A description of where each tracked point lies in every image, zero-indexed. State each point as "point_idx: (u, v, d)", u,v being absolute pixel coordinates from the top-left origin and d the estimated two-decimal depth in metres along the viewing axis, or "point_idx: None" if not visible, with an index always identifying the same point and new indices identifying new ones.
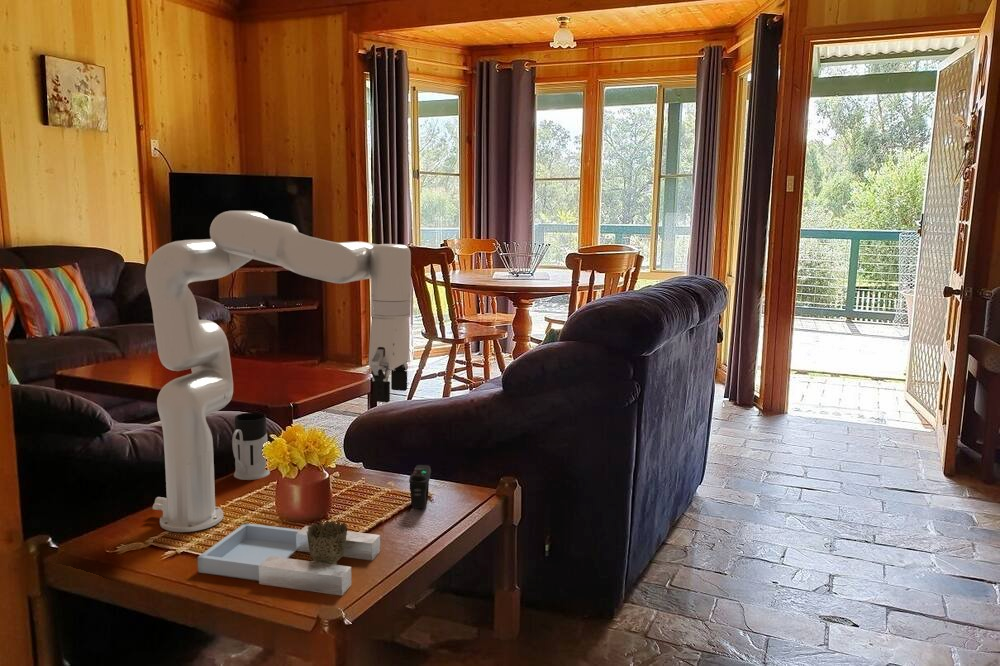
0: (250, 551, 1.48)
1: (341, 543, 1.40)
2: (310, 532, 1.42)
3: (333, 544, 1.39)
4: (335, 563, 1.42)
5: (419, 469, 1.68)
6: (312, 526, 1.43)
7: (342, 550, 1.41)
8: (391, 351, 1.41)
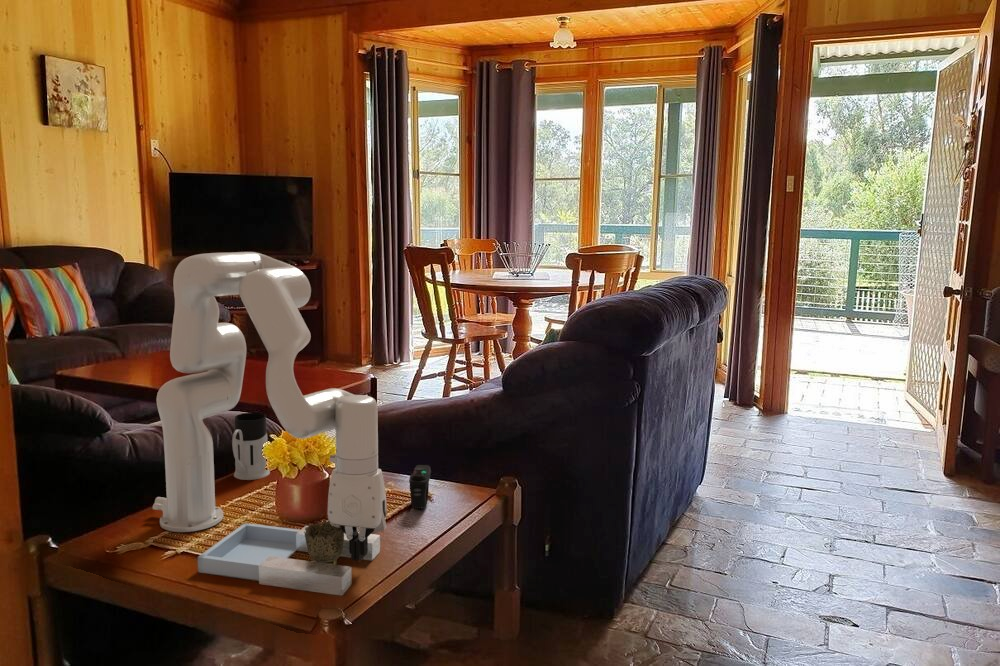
0: (250, 551, 1.48)
1: (339, 541, 1.40)
2: (308, 532, 1.42)
3: (330, 543, 1.39)
4: (335, 562, 1.42)
5: (419, 469, 1.68)
6: (309, 526, 1.43)
7: (340, 548, 1.41)
8: None
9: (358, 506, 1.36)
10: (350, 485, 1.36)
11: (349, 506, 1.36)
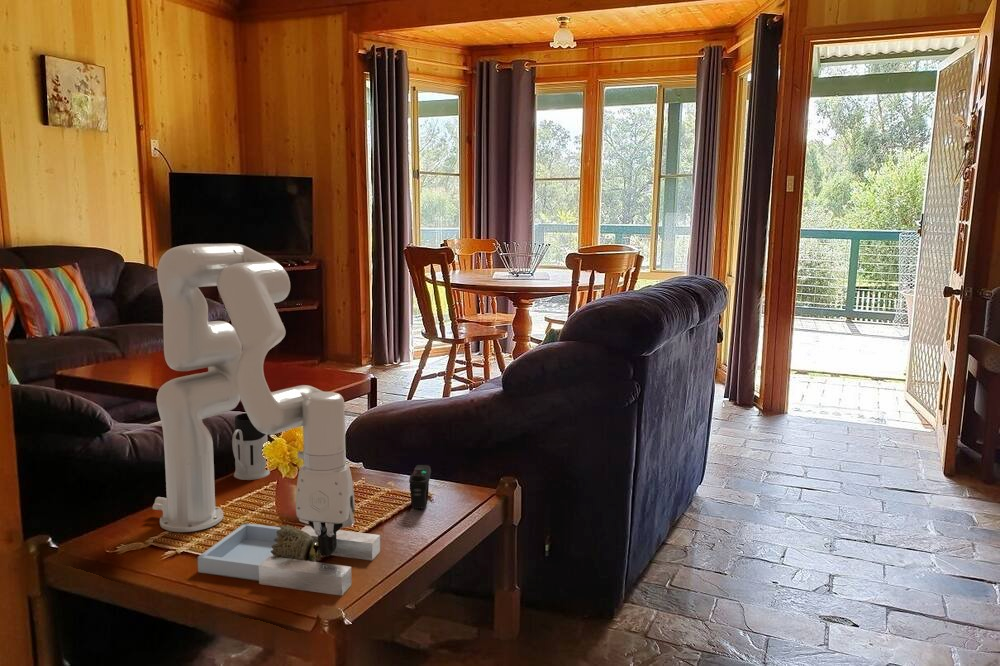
0: (250, 551, 1.48)
1: (289, 532, 1.41)
2: None
3: (284, 540, 1.40)
4: (313, 544, 1.42)
5: (419, 469, 1.68)
6: None
7: (299, 533, 1.42)
8: None
9: (325, 502, 1.37)
10: (318, 480, 1.37)
11: (317, 502, 1.37)
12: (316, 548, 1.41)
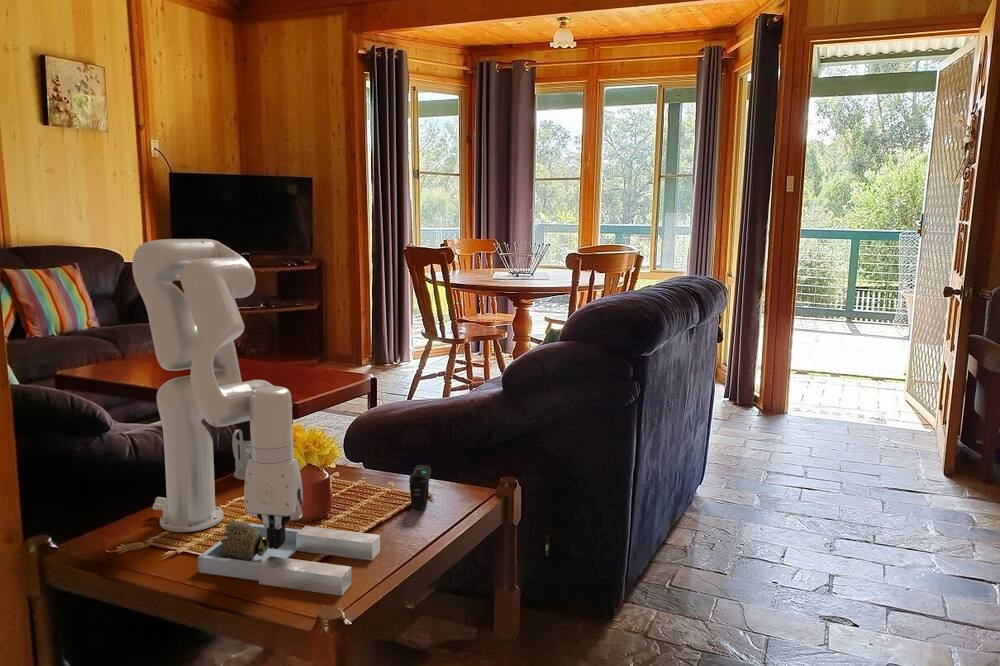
0: None
1: (238, 526, 1.43)
2: None
3: (233, 534, 1.41)
4: (262, 537, 1.44)
5: (419, 469, 1.68)
6: None
7: (248, 527, 1.43)
8: None
9: (273, 494, 1.39)
10: (265, 474, 1.39)
11: (264, 495, 1.39)
12: (265, 541, 1.43)
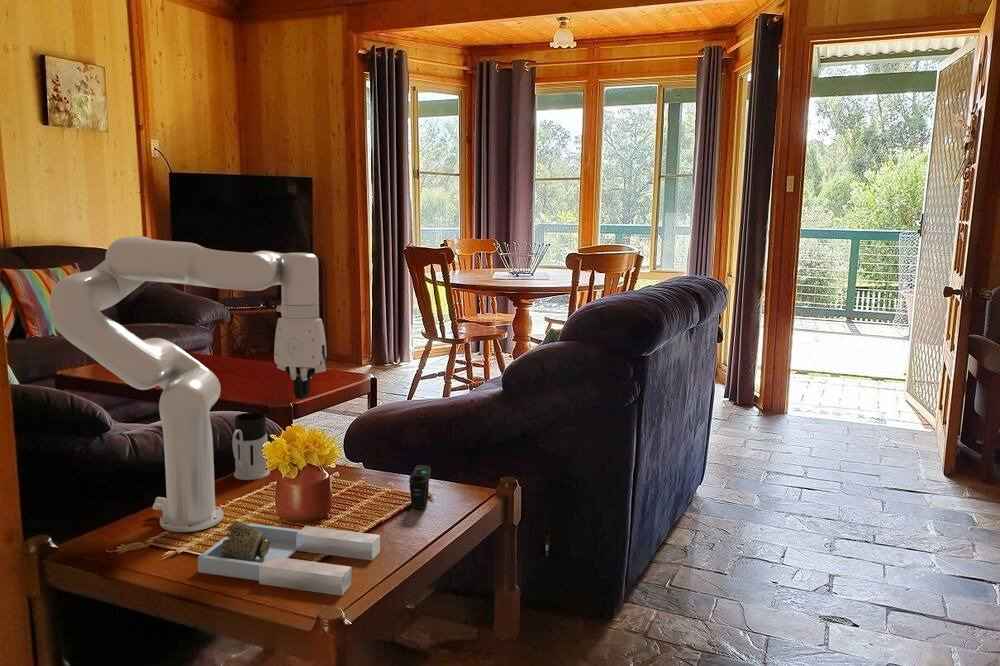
0: None
1: (241, 528, 1.42)
2: None
3: (236, 535, 1.41)
4: (264, 540, 1.44)
5: (419, 469, 1.68)
6: None
7: (250, 529, 1.43)
8: None
9: (300, 348, 1.56)
10: (293, 329, 1.55)
11: (292, 348, 1.56)
12: (267, 544, 1.43)
